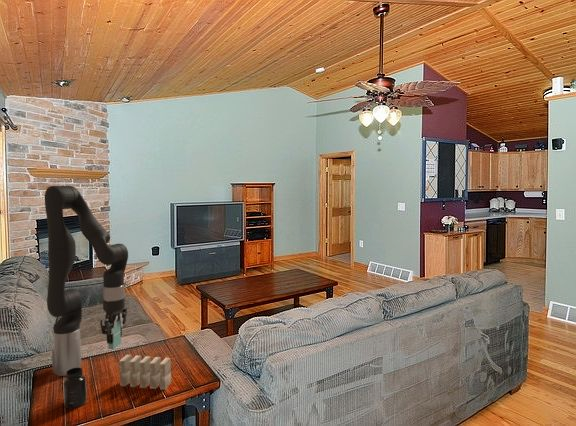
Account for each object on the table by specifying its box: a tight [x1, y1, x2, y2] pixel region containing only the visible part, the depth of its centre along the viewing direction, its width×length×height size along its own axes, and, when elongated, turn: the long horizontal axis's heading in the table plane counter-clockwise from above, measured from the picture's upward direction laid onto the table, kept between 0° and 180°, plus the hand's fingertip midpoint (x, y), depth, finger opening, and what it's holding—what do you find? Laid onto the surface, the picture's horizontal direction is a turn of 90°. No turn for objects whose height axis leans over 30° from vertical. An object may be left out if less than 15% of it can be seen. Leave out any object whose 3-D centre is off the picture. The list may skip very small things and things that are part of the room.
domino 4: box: [139, 355, 152, 389], centre depth 143 cm, size 2×5×10 cm, turn 173°
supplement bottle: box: [62, 367, 88, 410], centre depth 130 cm, size 7×7×12 cm
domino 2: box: [119, 354, 133, 387], centre depth 144 cm, size 2×5×10 cm, turn 173°
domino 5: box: [149, 356, 162, 390], centre depth 143 cm, size 2×5×10 cm, turn 173°
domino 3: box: [129, 355, 142, 388], centre depth 143 cm, size 2×5×10 cm, turn 175°
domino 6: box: [159, 357, 172, 391], centre depth 142 cm, size 2×5×10 cm, turn 173°
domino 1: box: [107, 320, 122, 350], centre depth 143 cm, size 2×5×10 cm, turn 173°
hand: (114, 339), depth 143 cm, fingers closed on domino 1, 5 cm apart
